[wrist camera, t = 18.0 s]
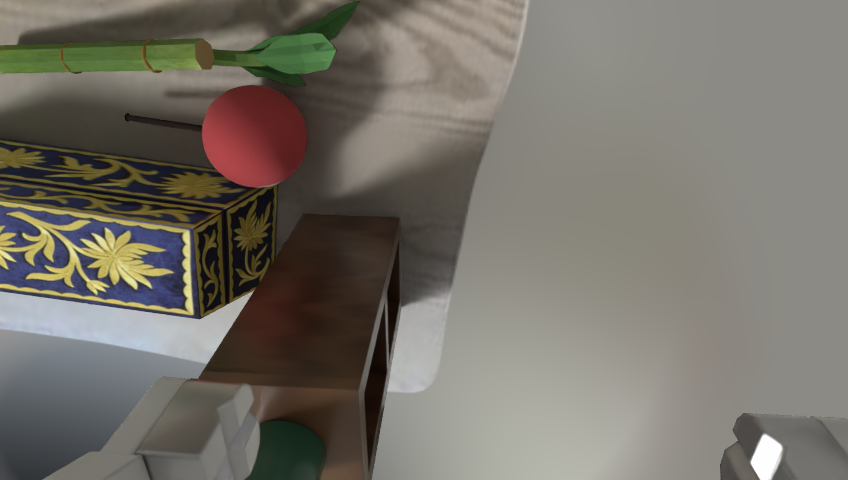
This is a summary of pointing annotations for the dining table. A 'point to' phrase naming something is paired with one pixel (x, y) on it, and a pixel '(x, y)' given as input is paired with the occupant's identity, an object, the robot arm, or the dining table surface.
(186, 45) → the decorative plant
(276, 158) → the lollipop
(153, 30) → the dining table surface
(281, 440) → the tin
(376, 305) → the shelf
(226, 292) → the decorative box
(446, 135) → the dining table surface
